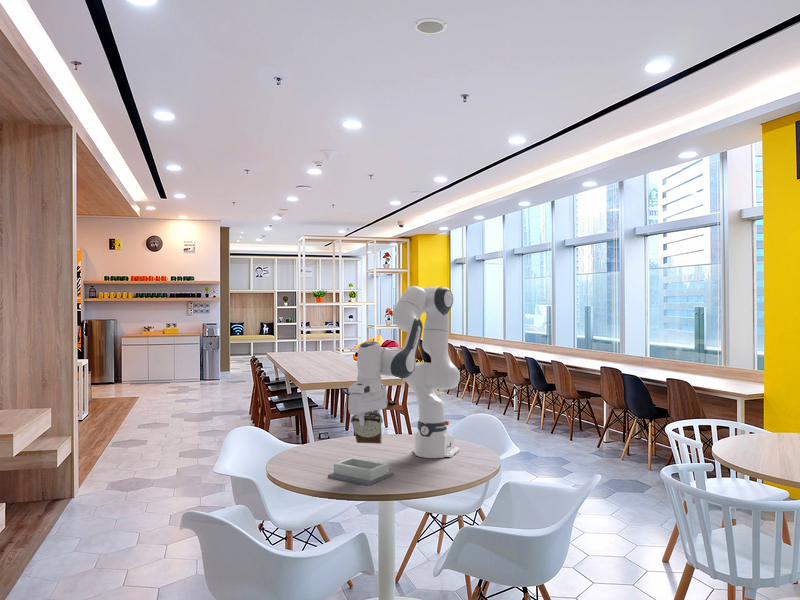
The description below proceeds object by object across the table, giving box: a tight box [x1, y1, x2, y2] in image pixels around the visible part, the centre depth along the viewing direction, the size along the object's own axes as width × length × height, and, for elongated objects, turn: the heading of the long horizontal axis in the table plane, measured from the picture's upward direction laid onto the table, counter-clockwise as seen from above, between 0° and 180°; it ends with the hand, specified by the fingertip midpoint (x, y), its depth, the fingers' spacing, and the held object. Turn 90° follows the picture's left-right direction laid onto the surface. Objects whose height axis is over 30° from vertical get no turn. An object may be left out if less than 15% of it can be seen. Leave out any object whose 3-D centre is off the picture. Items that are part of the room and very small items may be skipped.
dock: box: [327, 456, 394, 487], centre depth 199 cm, size 16×18×4 cm
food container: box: [350, 411, 384, 445], centre depth 200 cm, size 12×6×10 cm, turn 73°
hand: (368, 423), depth 198 cm, fingers closed on food container, 6 cm apart
